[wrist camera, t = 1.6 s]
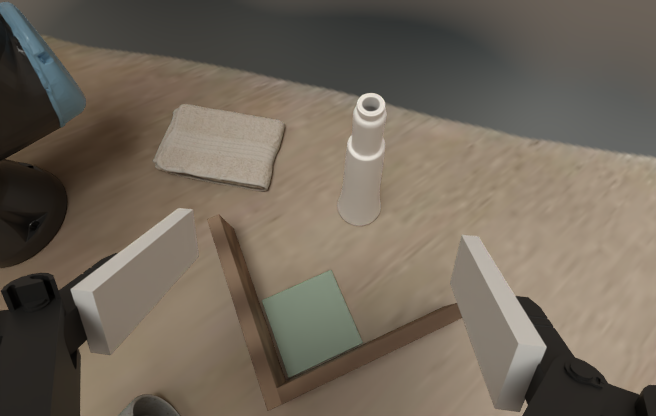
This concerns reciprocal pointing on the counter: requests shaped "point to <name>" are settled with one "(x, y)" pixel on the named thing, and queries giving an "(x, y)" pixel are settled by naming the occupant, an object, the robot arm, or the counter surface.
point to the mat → (311, 323)
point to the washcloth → (220, 147)
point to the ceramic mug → (149, 407)
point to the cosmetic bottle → (364, 162)
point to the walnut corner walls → (261, 341)
